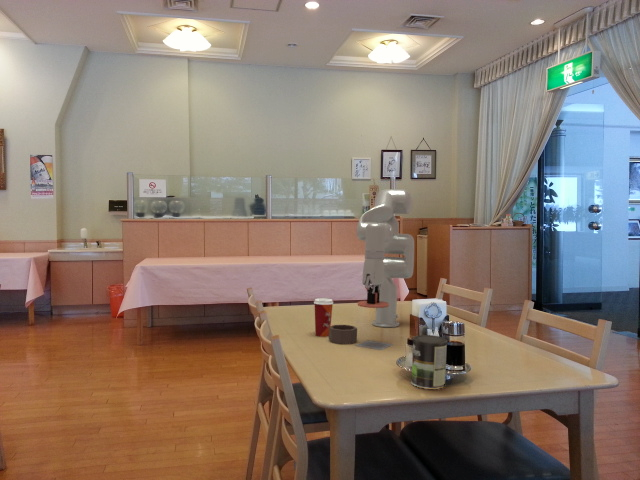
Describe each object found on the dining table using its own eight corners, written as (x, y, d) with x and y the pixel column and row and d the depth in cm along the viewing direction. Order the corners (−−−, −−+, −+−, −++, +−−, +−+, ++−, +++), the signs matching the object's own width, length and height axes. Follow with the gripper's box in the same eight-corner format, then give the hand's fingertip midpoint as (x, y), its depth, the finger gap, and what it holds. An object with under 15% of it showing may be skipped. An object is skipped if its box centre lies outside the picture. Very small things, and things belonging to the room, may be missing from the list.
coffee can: (416, 390, 159) (417, 342, 158) (407, 379, 169) (409, 334, 169) (450, 390, 160) (452, 343, 159) (439, 379, 170) (441, 335, 170)
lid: (366, 301, 218) (366, 289, 217) (393, 304, 212) (394, 292, 211) (352, 305, 207) (352, 293, 207) (380, 309, 201) (381, 296, 201)
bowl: (337, 338, 222) (338, 323, 222) (360, 341, 217) (360, 327, 216) (324, 342, 213) (325, 327, 213) (347, 347, 208) (348, 331, 208)
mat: (368, 341, 217) (368, 340, 217) (393, 345, 212) (393, 344, 212) (355, 347, 208) (355, 345, 208) (381, 351, 202) (381, 350, 202)
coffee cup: (330, 338, 222) (331, 301, 221) (310, 336, 224) (311, 300, 223) (334, 333, 230) (335, 298, 229) (315, 332, 232) (316, 297, 231)
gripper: (374, 253, 217) (373, 299, 218) (356, 256, 203) (354, 304, 204) (392, 255, 213) (390, 301, 215) (374, 257, 200) (372, 307, 201)
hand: (373, 302), depth 209 cm, fingers closed on lid, 3 cm apart
